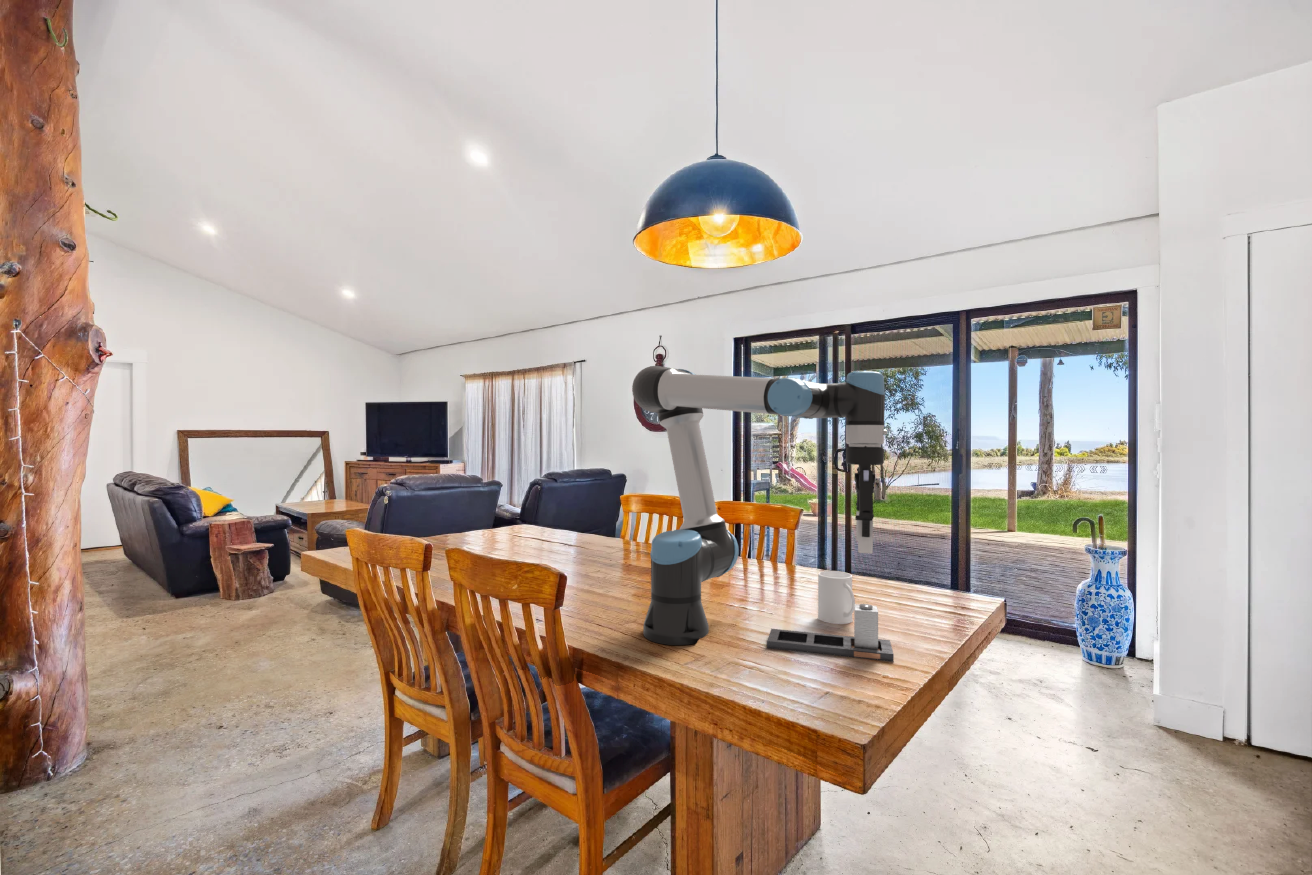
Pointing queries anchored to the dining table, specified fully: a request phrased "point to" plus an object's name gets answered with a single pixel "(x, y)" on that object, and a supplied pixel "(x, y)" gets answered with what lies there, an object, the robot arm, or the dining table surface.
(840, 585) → the mug
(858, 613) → the grey block with knob
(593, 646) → the dining table surface
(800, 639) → the tray with compartments
